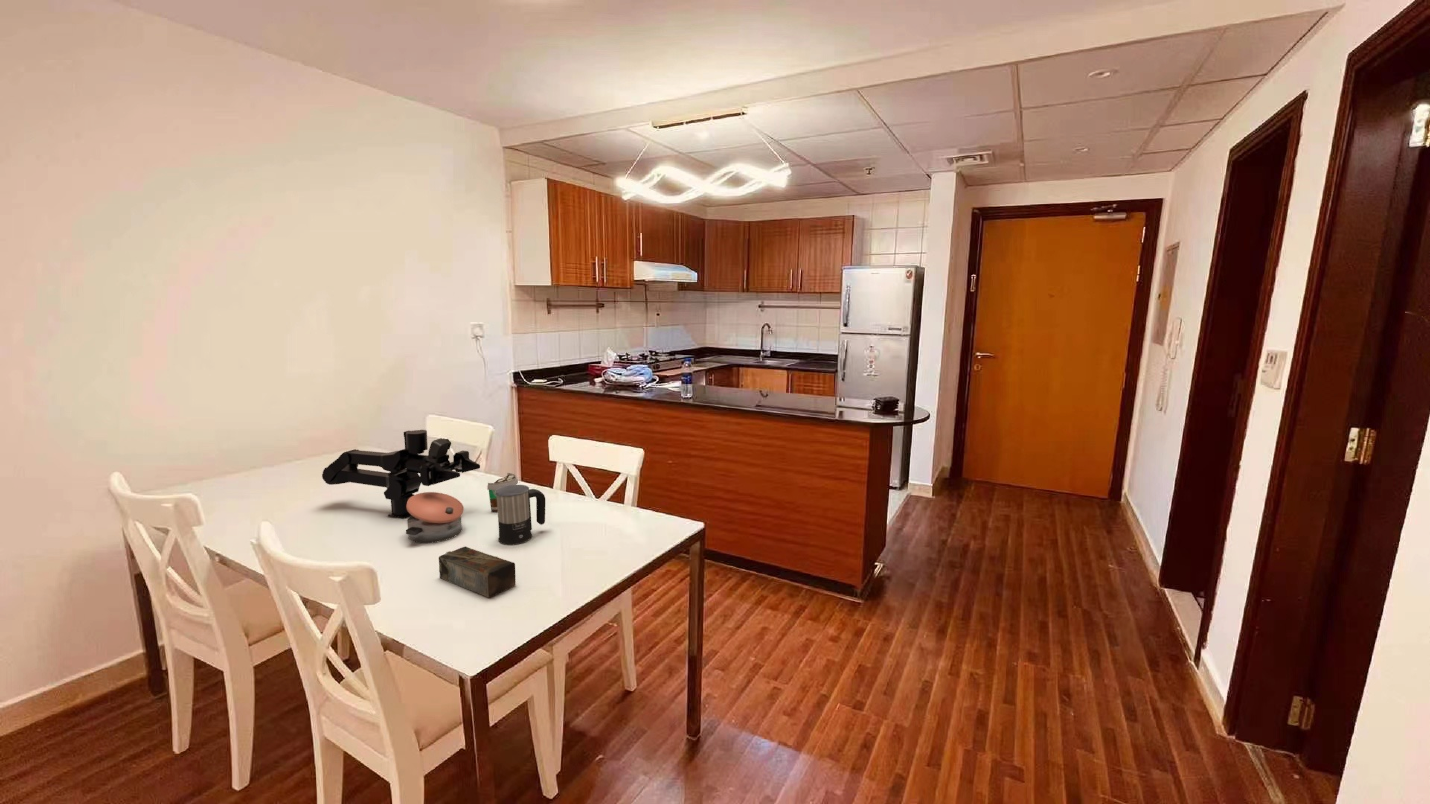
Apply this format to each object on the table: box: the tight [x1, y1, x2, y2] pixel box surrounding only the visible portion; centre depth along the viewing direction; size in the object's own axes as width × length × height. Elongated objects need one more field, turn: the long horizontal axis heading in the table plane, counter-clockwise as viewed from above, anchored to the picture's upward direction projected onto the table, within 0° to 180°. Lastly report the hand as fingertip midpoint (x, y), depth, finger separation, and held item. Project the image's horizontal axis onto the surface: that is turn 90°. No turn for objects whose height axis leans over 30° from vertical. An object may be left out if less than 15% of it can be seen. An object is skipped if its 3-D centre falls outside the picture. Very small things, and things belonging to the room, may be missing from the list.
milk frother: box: [495, 484, 546, 546], centre depth 165 cm, size 14×16×15 cm
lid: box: [406, 491, 465, 523], centre depth 164 cm, size 15×15×2 cm
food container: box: [486, 472, 519, 513], centre depth 186 cm, size 12×6×10 cm, turn 168°
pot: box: [405, 515, 463, 544], centre depth 165 cm, size 14×19×5 cm
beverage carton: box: [438, 546, 517, 599], centre depth 137 cm, size 8×19×7 cm, turn 59°
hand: (470, 470), depth 171 cm, fingers open, 9 cm apart
